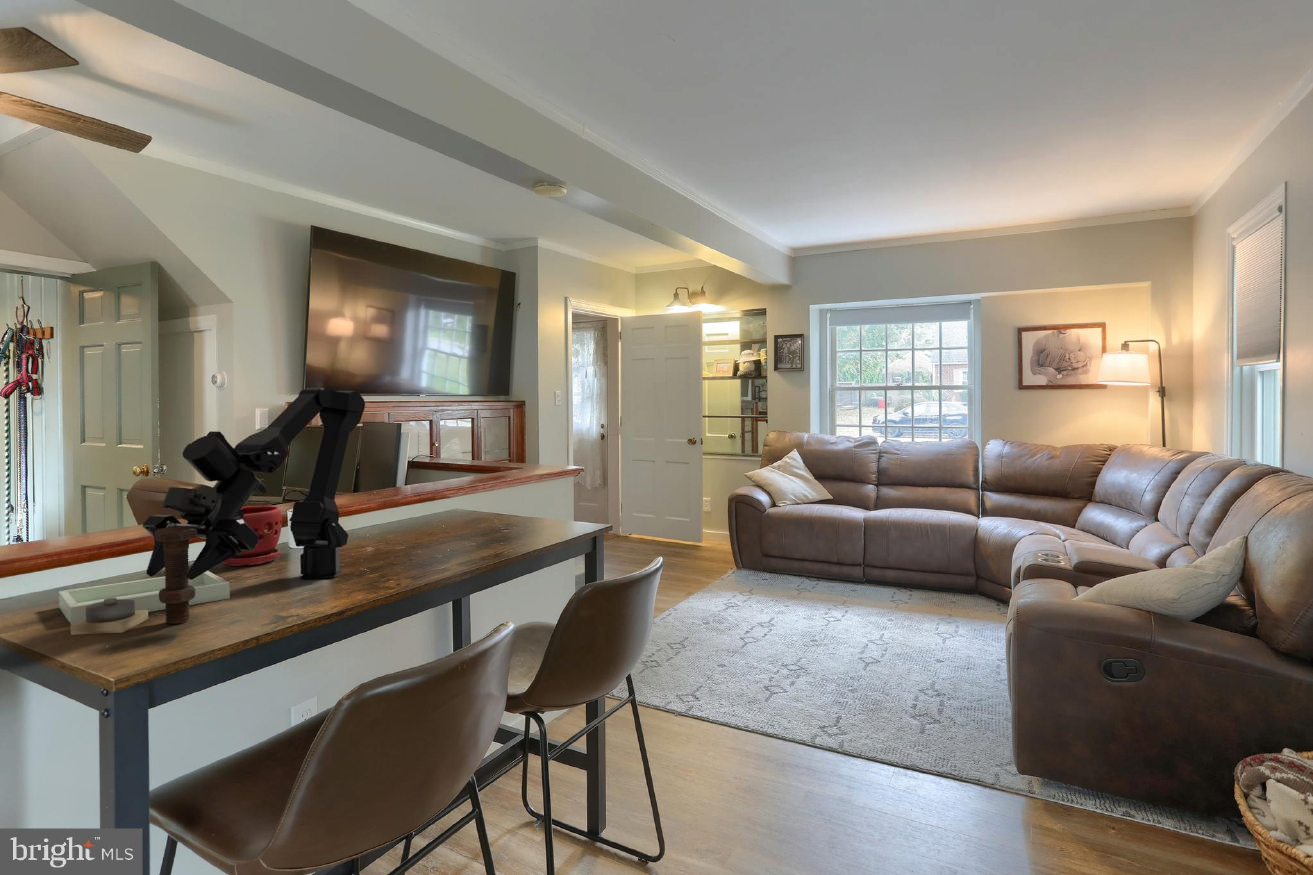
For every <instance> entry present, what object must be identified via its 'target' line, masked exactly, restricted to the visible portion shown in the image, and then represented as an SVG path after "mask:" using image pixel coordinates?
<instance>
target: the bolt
mask: <svg viewBox="0 0 1313 875" xmlns="http://www.w3.org/2000/svg"><path fill="white" fill-rule="evenodd" d="M195 538H198V537H197V530H196V528H195V527H170V528H162V529H159V530H157V531H155V540H157V541H159V542H163V550H164V553H165V554H164V555H165V556H164V557H165V558H164V559H165V560H164V561H165V562H164V563H165V567H164V568H163V569H164V577H165V576H166V577H165V578H166V579H165V580H166V581H165V588H164V589H162V590H160V591H159V600H160V602H161V603H165V605H166V609H164V610H165V612H164V613H165V623H166V624H171V625H176V624H184V623H186V622H187V621H189V619H190V605H189V600H192V599H193V598H194V597H195V589H194V587H193V586H190V585H189V584H188V583H189V582H188V581H189V580H188V578H187V577H186V575H187V573H188V571H189V569H190V567H189V565H190V564H189V562H190V560H189V558H190V557H189V548H190V540H192V539H195Z"/></svg>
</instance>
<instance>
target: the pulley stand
mask: <svg viewBox="0 0 1313 875" xmlns="http://www.w3.org/2000/svg"><path fill="white" fill-rule="evenodd" d="M147 620H149V612H148V610H135V601H134V600H130V599H118V600H117V598H109V599H105V600H104V601H103V602H98V603H94V604H91V605H88V606H87V607H86V618H85V619H83V620H80V621H78V622H76V623H74V624H72V625H71V624H70V635H73V636H75V635H93V634H95V635H97V634H99V635H100V634H118V633H120V634H121V633H125V632H126V631H128V630H131V629H132V628H134V627H136V626H138V625H140V624H141V623H143V622H145V621H147Z"/></svg>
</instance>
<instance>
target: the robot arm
mask: <svg viewBox="0 0 1313 875" xmlns="http://www.w3.org/2000/svg"><path fill="white" fill-rule="evenodd" d="M365 408H366V402H365V398H363V396H362V395H361V393H360V392H359V391H357V390H330V389H326V388H324V387H305V388H304V389H301V390H300V391H299V393H298V396H297V397H296V398H295V399H293V401H292V402H291V403H290V404H289V405H288V406H287V407H285V409H284V410H283V411H282V412H281V413H280V414H279V415H278V416H277V417H276V418H275V419H273V421H272V422H271V423H270V424H269V425H268V426H267V427H265V428H264V429H263V430H260V431H258V432H255V433H253V434H250V435H248V436H246V438H244V439H242V440H241V441H239V442H238V443H237V444H236V445H235V446H234V447H233V446H232V445H231V444H230V442H228V440H227V439H226V437H225V436H224V434H223V433H222V432H221V431H209V432H208V433H207V434H206V435H204V436H201V437H199V438H196V440H194V441H192V442H191V443H188V444H187V445H186V446H185V448H184V449H183V450H182V451H183V452H182V457H183V459H184V460H185V461H187V463H188V464H190V466H191V467H192V468H193V469H194V470H195V471H196V472H197V473H198V474H199V475H200V476H201V477H202V478H203V479H204V481H207V482H216V483H215V484H214V485H213V487H212V486H210V485H201V486H200V487H198V489H197V488H189V487H175V486H174V487H173V486H171V487H170V486H169V487H168V490H167V492H166V494H165V497H164V499H163V501H162V504H161V507H163V508H164V509H165V508H166V509H168V508H169V509H172V510H174V511H178V512H180V514H179V515H178V516H179V517H180V518H181V519H182V520H184V521H187V522H186V523H182V522H181V521H179V520H178V519H177V518H176V516H174V515H171V514H169V515H168V514H154V515H149V516H148V517H147V519H146V520H145V521H144V523H142V528H143V529H145V530H146V531H147V532H148V533H149V534H150V535H151V536H153V540H154V543H153V549H152V552H151V555H150V556H151V557H150V559H149V562H148V564H147V569H146V572H145V573H146V575H148V576H149V577H150V578H151V577H154V576H155V575H157V574H158V573H160V572H161V571H162V570H163V569H165V563H164V562H165V561H164V560H165V559H164V558H165V557H164V556H165V555H164V554H165V553H164V550H163V542H159V541H157V540H155V531H157V530H159V529H162V528H170V527H195V528H196V530H197V538H200V539H205V544H204V546H203V547H202V549H201V550H200V552H199V554H198V555H197V557H196V559H195V560H194V561H193V563H192V565H191V566H190V567H189V568H188V569H189V571H188V573H187V575H186V577H187V578H188V579H190V580H193V579H194V578H196V577H198V576H199V575H201V574H203V573H204V572H206V571H210V570H211V569H213V568H215V567H217V566H219V565H220V564H222V563H223V562H224V561H226V560H228V559H229V558H231V557H233V556H235V555H240V554H241V553H242V551H249V552H252V551H253V550H254V548H255V547H256V545H257V544H258V534H257V533H256V532H255V531H254V530H253V529H252V528H251V527H250V526H249V525H248V524H247V523H246V522H245V521H244V520H243V519H242V517H243V516H244V513H243V512H242V511H241V509H242V508H243V507H245V505H246V504H247V503H248V501H249V500H250V498H251V497H252V495H266V494H267V487H266V485H265V479H264V478H258V477H257V476H256V475H255V474H254V473H256V474H257V473H262V474H263V473H264V474H272V473H275V472H277V471H278V470H279V469H280V468H281V467H282V465H283V464H284V462H285V460H286V459H287V458H288V456H289V447H290V445H291V443H292V442H293V441H294V440H295V439H296V438H297V437H298V435H299V434H301V432H302V431H303V430H304V429H305V428H306V427H307V426H308V425H309V424H310V423H311V422H312V421H313V419H314V418H316V416H317V415H318V414H319V415H318V417H319V419H320V422H321V423H322V424H321V425H322V427H323V431H322V434H321V435H322V436H321V440H320V443H319V444H320V445H319V448H318V452H317V456H316V461H315V464H314V468H313V472H312V473H313V474H312V476H311V477H312V478H311V481H310V484H309V485H310V486H309V490H308V493H307V496H305V498H304V499H303V500H302V501H301V500H300V501H299V500H296V501H295V502H294V503H293V507H292V513H291V515H290V518H289V519H288V521H289V522H290V529H289V530H290V532H291V534H292V537H293V540H294V543H295V546H296V547H303V548H302V553H300V556H299V558H300V559H299V560H300V562H299V563H300V564H299V565H300V575H301V576H300V580H305V579H307V580H309V579H310V580H311V579H333V578H336V577H337V576H339V575H340V574H341V573H342V572H343V568H341V557H340V556H341V549H340V548H343V547H344V546H346V545H347V544H348V539H349V534H348V533H347V531H346V530H345V529H344V527H343V526H342V525H341V524H340V523H339V522H340V521H339V520H340V511H339V508H338V506H337V503H336V500H335V499H336V498H335V497H336V493H337V489H338V484H339V481H340V475H341V470H342V467H343V463H344V460H345V454H346V449H347V445H348V442H349V441H348V440H349V437H350V434H351V433H352V432H353V430H354V429H355V428H356V427H357V426H358V425H359V424H360V422H361V420H362V417H363V414H364V412H365ZM235 518H239V519H235Z"/></svg>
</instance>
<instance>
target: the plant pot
mask: <svg viewBox="0 0 1313 875" xmlns="http://www.w3.org/2000/svg"><path fill="white" fill-rule="evenodd" d="M241 511H242V512H243V513H244V516H243V517H242V519H243V520H244V521H245V522H246V523H247V524H248V525H249V526H250V527H251V528H252V529H253V530H254V531H255V532H256V533H257V534H258V544H257V545H256V547H255V548H254V550H253V551H252V552H249V551H242V553H241V554H240V555H235V556H233V557H231V558H229V559H228V560H226V561H224V562H222V563H223V564H225V565H228V566H233V567H244V566H245V565H247V566H257V565H261V564H264V563H265V564H266V563H268V562H271V561H273V560H275V559H276V558H278V556H280V553H281V550H280V549H279V548H276V547H277V545H278V544H279V540H280V537H281V532H282V508H281V507H280V506H275V505H251V506H249V505H248V506H247V505H246V506H243V508H242V509H241ZM235 519H239V518H235ZM266 526H267V527H268V528H267V530H265V528H266ZM245 567H246V566H245Z"/></svg>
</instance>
